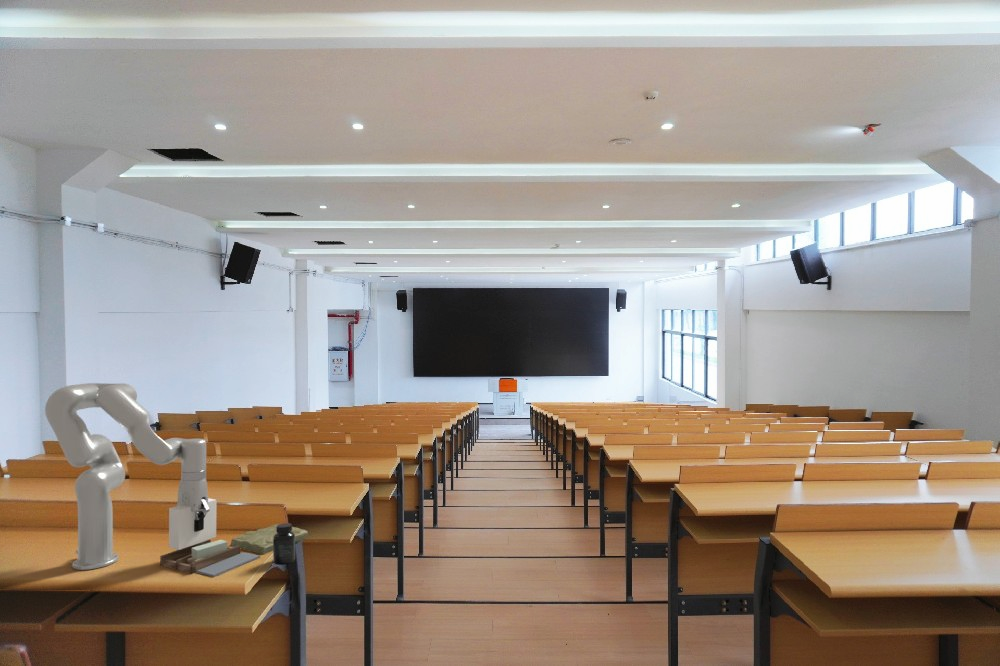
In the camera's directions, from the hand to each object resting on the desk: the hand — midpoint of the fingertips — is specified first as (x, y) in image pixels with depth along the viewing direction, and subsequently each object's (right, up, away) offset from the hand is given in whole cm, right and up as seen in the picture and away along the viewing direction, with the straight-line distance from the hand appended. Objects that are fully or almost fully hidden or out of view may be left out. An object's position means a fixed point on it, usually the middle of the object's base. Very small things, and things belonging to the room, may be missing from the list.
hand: (193, 528), depth 199 cm
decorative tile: (+19, -11, +16) cm, 28 cm away
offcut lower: (+7, -10, -3) cm, 13 cm away
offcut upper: (+7, -7, -3) cm, 11 cm away
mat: (+15, -10, -6) cm, 19 cm away
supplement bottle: (+32, -10, -3) cm, 34 cm away
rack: (+4, -10, -2) cm, 11 cm away
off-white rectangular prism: (0, -5, 0) cm, 5 cm away
